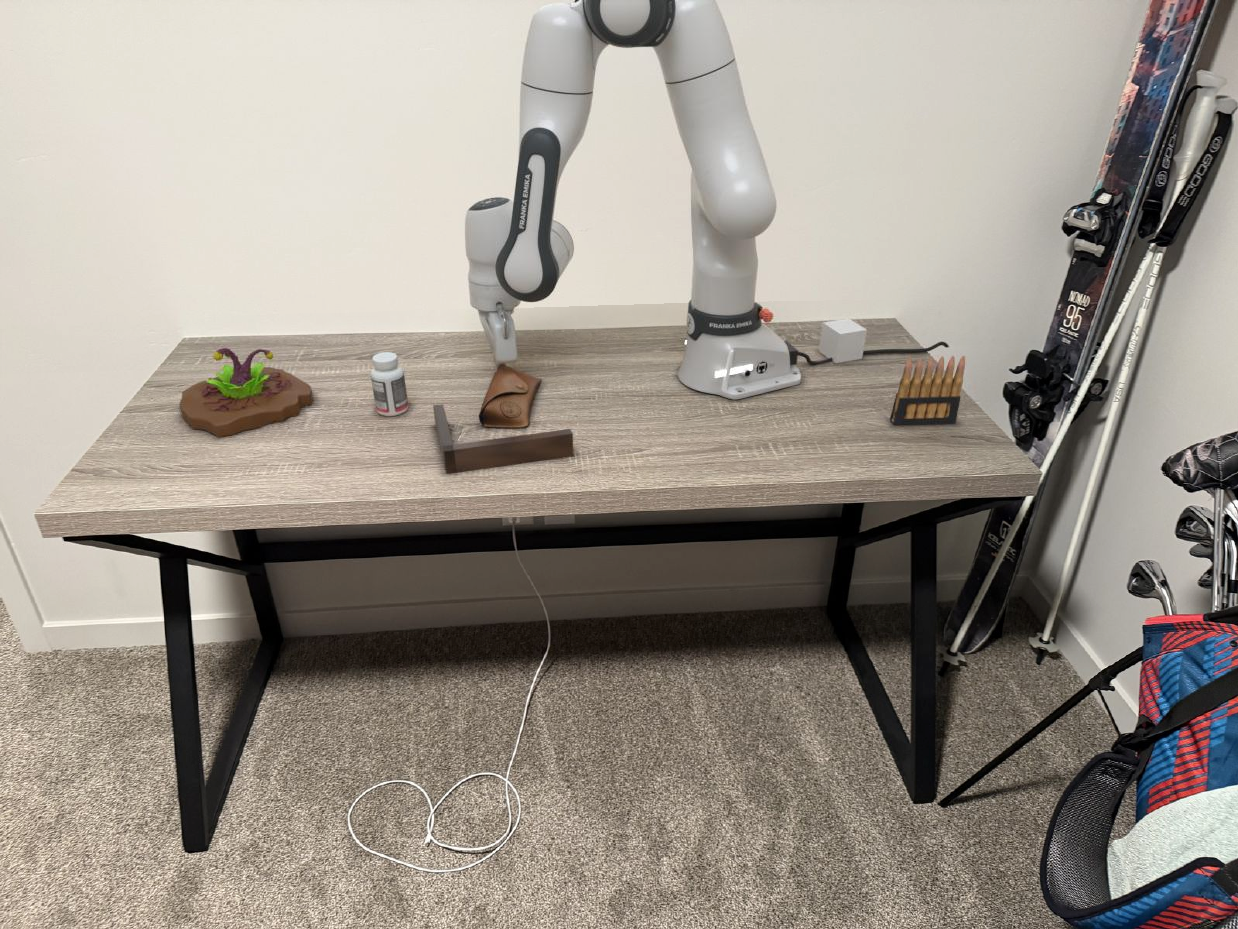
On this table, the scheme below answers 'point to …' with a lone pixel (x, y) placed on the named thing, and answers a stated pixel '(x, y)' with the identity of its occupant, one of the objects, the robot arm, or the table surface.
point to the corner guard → (499, 448)
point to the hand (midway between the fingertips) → (500, 365)
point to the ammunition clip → (928, 394)
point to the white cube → (842, 340)
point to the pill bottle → (388, 385)
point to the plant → (243, 397)
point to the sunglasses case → (508, 399)
